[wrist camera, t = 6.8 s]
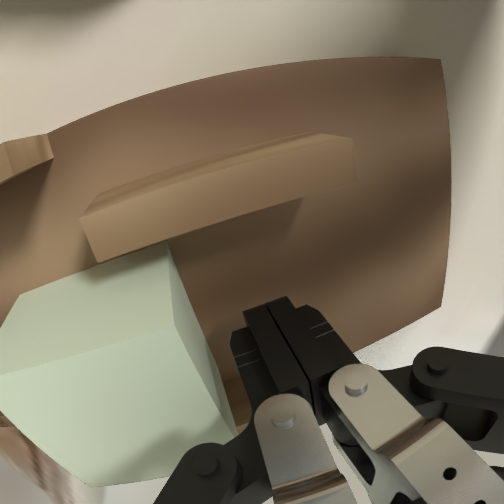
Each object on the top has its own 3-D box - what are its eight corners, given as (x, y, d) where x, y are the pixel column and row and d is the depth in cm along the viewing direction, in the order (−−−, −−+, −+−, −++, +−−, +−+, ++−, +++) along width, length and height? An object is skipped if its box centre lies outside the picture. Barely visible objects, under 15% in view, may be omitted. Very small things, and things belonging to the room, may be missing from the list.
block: (19, 294, 9) (-26, 381, 5) (166, 241, 10) (174, 325, 6) (94, 401, 12) (90, 487, 8) (218, 367, 13) (245, 456, 9)
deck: (-107, 242, 8) (-163, 291, 3) (403, 62, 12) (494, 59, 7) (4, 416, 14) (-11, 482, 9) (415, 286, 18) (475, 334, 13)
